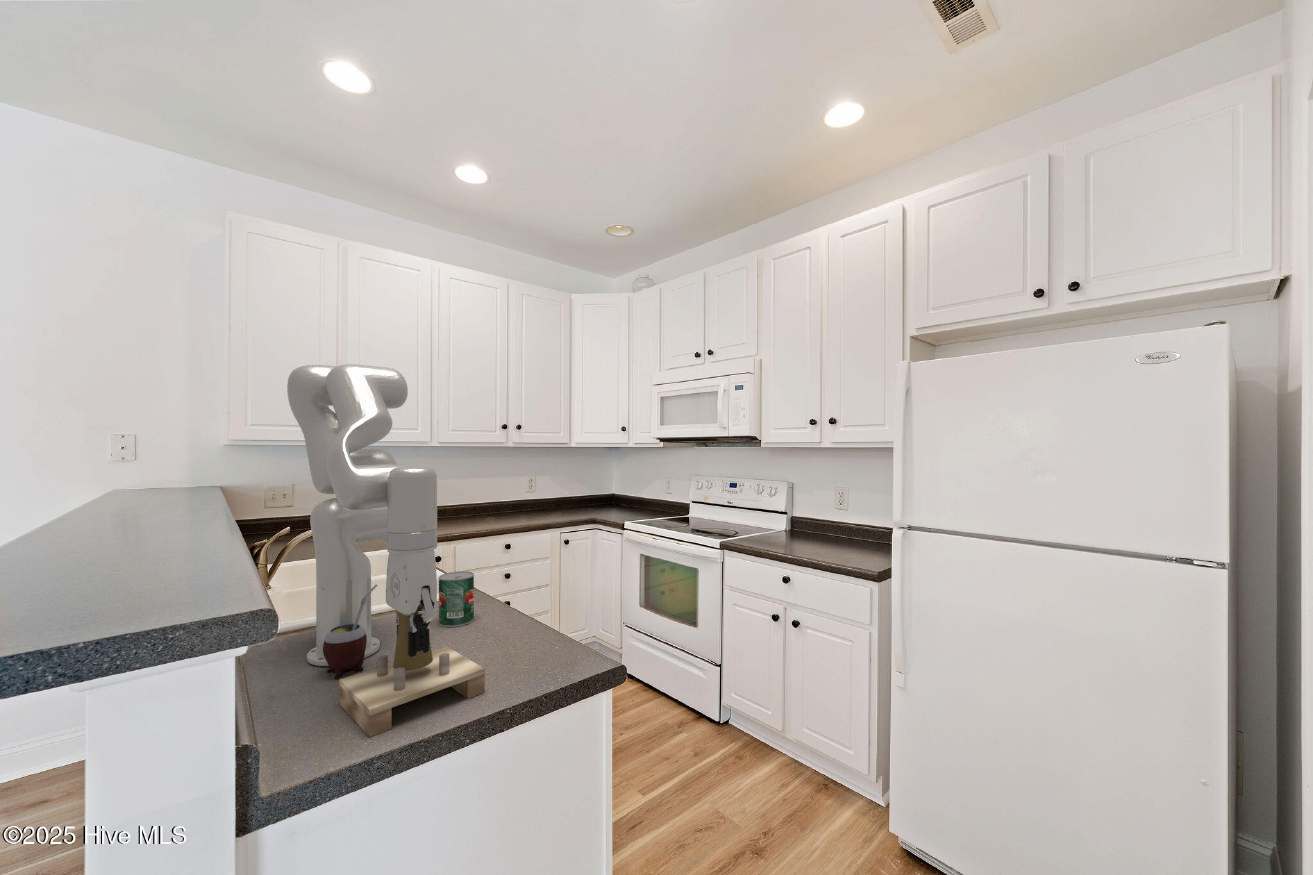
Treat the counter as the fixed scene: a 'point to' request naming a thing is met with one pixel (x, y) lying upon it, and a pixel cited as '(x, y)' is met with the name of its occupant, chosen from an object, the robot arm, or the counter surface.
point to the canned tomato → (456, 599)
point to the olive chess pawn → (402, 647)
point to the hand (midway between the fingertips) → (412, 648)
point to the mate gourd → (346, 646)
